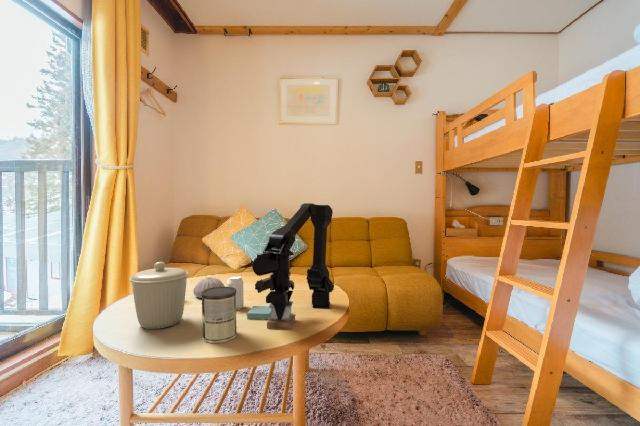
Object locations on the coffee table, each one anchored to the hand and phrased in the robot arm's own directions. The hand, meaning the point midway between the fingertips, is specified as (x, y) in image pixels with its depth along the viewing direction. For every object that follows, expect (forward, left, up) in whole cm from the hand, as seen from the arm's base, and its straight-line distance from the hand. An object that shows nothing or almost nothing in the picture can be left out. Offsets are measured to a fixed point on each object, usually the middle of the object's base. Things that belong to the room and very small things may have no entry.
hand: (281, 316), depth 110 cm
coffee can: (+17, +11, -3) cm, 20 cm away
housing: (0, 0, -1) cm, 1 cm away
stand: (+9, -8, -3) cm, 12 cm away
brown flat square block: (0, 0, -3) cm, 3 cm away
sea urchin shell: (+38, -31, -3) cm, 49 cm away
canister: (+41, +2, -3) cm, 41 cm away
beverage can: (+21, -15, -3) cm, 26 cm away
